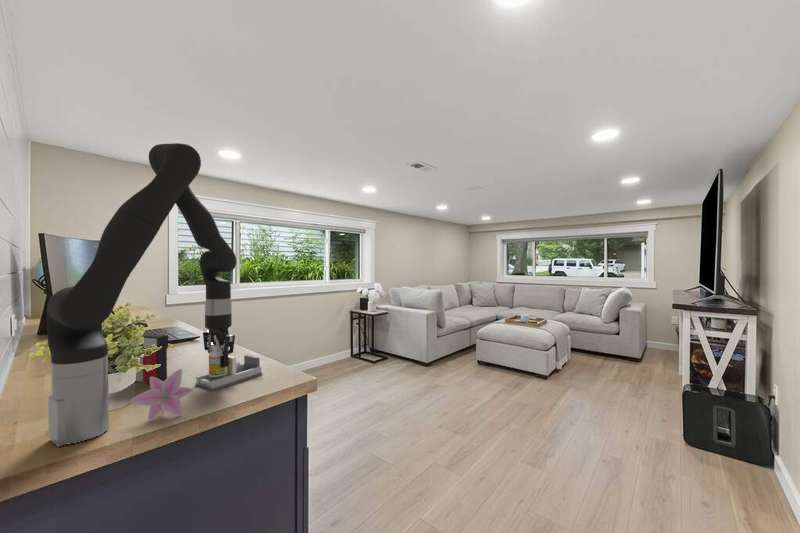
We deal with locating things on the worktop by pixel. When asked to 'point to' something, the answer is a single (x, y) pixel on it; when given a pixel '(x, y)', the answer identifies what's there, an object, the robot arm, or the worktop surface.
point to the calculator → (154, 358)
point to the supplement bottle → (216, 363)
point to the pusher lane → (243, 373)
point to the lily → (164, 395)
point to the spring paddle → (232, 366)
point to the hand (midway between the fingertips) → (218, 365)
